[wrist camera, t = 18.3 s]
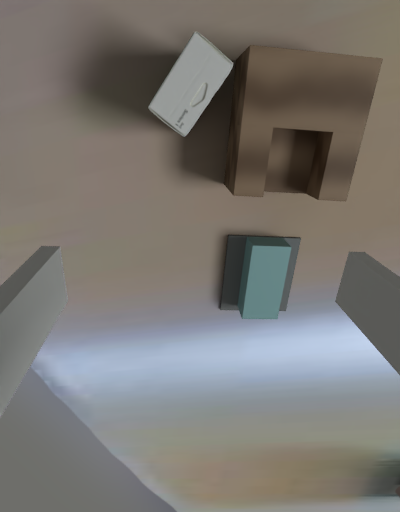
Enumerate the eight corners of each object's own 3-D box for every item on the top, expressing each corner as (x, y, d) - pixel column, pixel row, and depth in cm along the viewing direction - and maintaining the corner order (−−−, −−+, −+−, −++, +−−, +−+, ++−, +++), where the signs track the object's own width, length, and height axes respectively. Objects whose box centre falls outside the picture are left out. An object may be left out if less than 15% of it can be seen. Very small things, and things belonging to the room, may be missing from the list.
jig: (236, 59, 40) (250, 45, 32) (345, 70, 41) (382, 58, 34) (224, 184, 46) (233, 195, 38) (319, 189, 47) (346, 201, 40)
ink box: (189, 52, 39) (195, 24, 28) (220, 79, 40) (237, 62, 29) (152, 112, 41) (144, 107, 30) (182, 135, 43) (185, 139, 32)
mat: (228, 234, 49) (228, 235, 49) (299, 237, 50) (300, 238, 50) (220, 308, 54) (220, 310, 54) (284, 309, 56) (285, 310, 55)
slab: (246, 236, 49) (252, 245, 45) (282, 237, 50) (291, 246, 46) (237, 305, 54) (242, 318, 50) (270, 306, 55) (277, 319, 51)
